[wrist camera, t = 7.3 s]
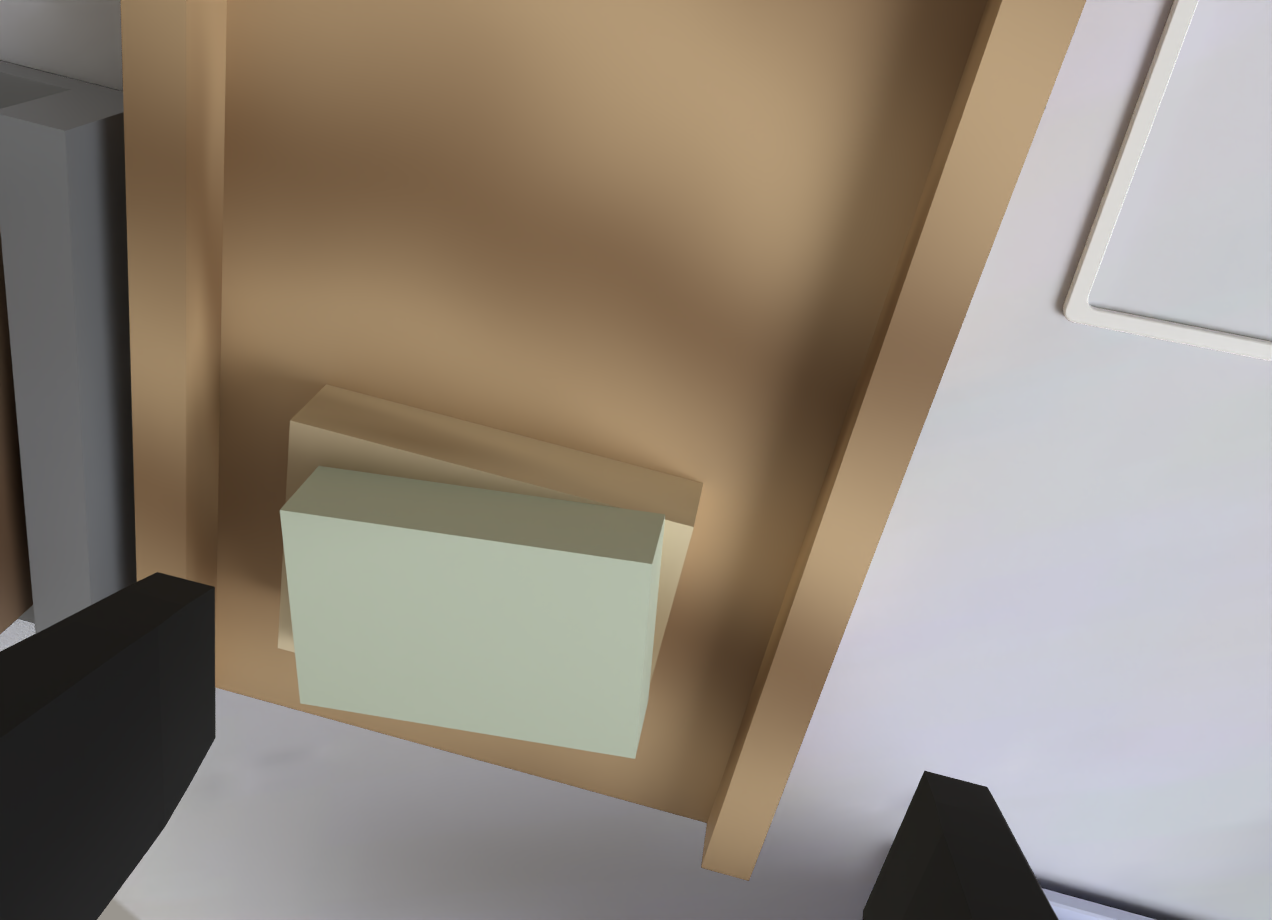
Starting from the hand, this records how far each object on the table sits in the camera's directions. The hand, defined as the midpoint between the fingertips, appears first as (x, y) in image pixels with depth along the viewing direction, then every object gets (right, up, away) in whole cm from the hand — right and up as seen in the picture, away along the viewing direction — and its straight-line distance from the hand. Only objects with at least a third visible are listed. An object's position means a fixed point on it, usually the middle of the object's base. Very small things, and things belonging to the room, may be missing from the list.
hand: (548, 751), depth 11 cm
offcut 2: (-2, +1, +8) cm, 9 cm away
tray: (-1, +6, +8) cm, 10 cm away
